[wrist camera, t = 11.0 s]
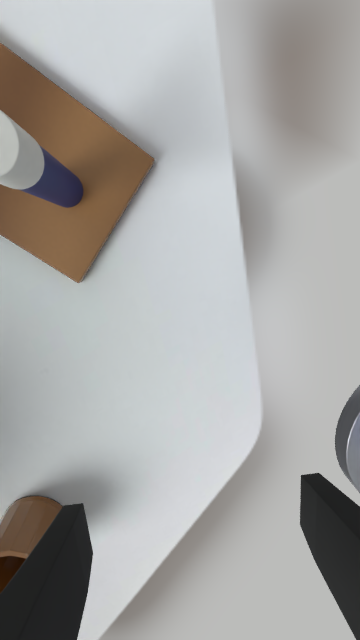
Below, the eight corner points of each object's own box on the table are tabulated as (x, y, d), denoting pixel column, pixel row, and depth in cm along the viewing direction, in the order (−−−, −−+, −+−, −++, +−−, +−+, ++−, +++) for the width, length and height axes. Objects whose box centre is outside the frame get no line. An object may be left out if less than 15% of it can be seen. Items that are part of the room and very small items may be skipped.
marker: (81, 169, 16) (11, 100, 8) (87, 207, 17) (25, 175, 9) (45, 171, 16) (-60, 104, 8) (51, 210, 16) (-42, 180, 9)
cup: (63, 491, 22) (42, 546, 18) (74, 542, 23) (57, 604, 19) (-4, 500, 21) (-40, 557, 17) (11, 551, 22) (-20, 615, 19)
